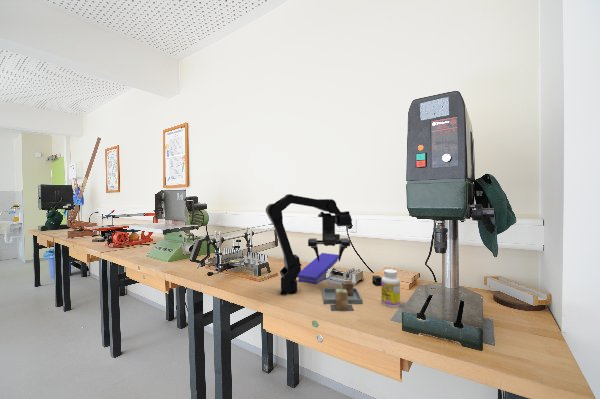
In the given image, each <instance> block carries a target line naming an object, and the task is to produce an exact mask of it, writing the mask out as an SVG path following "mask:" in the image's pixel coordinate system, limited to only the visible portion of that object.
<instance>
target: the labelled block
mask: <svg viewBox="0 0 600 399" xmlns="http://www.w3.org/2000/svg"><path fill="white" fill-rule="evenodd" d="M335 299H336V304H335V305H336V309H337V310H348V305H349V304H348V293H347V290H346V289H335Z"/></svg>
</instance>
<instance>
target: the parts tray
mask: <svg viewBox="0 0 600 399" xmlns="http://www.w3.org/2000/svg"><path fill="white" fill-rule="evenodd" d="M335 289H342V287H323V288H322V299H323V304H324V305H326V304H327V305H336V299H335ZM363 302H364V300H363V298H362V296H361V294H360V291H359V290H358V288H356V287H353V296H348V305H363Z"/></svg>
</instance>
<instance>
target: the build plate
mask: <svg viewBox="0 0 600 399" xmlns="http://www.w3.org/2000/svg"><path fill="white" fill-rule="evenodd" d="M381 280H382V277H381V276H380V275H372V279H371V281H372V285H374V286H375V287H382V282H381Z"/></svg>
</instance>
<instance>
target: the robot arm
mask: <svg viewBox="0 0 600 399" xmlns="http://www.w3.org/2000/svg"><path fill="white" fill-rule="evenodd" d="M291 204H293V205H300V206H306V207H311V208H315V209H318V210H320V213H319V214H317V217H318V218H321V219H322V220H321V222H322V227H321V229H322V234H321V235H322V236H321V237H322V239H319V240H318V238H311V237H310V238H308V240H307V246H308V247H310V248H311V249H313V251H314V253H315V255H316V258H317V259H318V262H319V255H320V254H319V248H318V245H324V246H325V247H328V246H329V247H330V246H332V247H335V246H336V245H339V248H338V255H339V259H338V262H341V259H342V256H343V253H344V251H345V249H348V247H351V240H350V239H349V238H347V237H346V238H342V237H341V235H340V234H339V233H336V226H337V227H350V226H352V222H353V218H352V215H351V214H350V210H349V211H348V210H347V211H341V210H340V209H339V208H338V206H337V202H336V200H335V199H332V198H331V199H330V198H327V199H325V198H323V199H322V198H319V199H318V198H317V199H316V198H310V197H306V196H305V197H304V196H300V195H295V194H292V193H291V194H290V193H288V194H285V195H284V196H283V197H281V198H280V199H278V200H277V201H276V202H274V203H269V204H268V205H267V206H266V207H265V213H266V215H267V217H268V219H269V221H270V222H271V223H272V225H273V228H274V230H275V234H276V236H277V237H276V238H277V240H278V242H279V245H280V248H281V251H282V256H283V265H284V266H283V268H281V269H280V271H279V273H280V276H281V277H280V294H279V295H296V293H297V292H298V280H297V275H298V274H299V273H300V271H301V270H302V266H303V265H302V264H301V261H300V257H299V256H298V255H297V254H294V252H293V250H292V246H291V244H290V241H289V238H288V234H287V232H286V229H285V225H284V223H283V211H284V210H285V209H287V207H289V206H290V205H291ZM325 212H326V213H325Z"/></svg>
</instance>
